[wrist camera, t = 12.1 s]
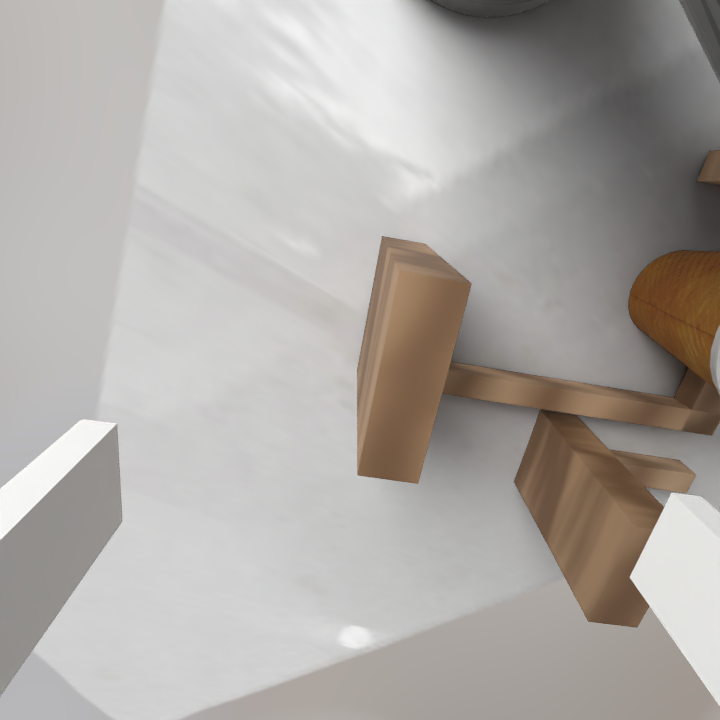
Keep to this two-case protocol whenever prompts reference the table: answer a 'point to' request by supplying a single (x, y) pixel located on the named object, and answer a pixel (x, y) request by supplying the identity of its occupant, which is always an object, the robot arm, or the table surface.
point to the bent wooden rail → (472, 367)
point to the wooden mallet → (595, 511)
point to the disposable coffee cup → (682, 308)
